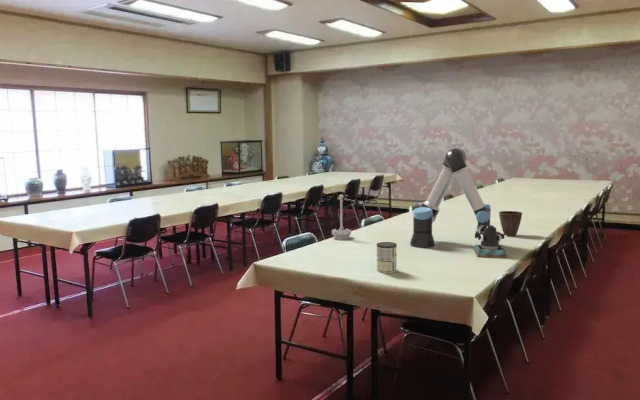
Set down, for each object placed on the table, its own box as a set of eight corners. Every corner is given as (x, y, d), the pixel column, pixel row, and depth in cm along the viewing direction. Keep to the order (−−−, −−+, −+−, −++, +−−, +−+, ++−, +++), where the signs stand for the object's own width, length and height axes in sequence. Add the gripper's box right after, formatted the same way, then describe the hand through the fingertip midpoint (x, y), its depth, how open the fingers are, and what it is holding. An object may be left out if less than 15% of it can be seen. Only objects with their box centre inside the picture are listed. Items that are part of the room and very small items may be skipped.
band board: (477, 256, 304) (477, 250, 303) (474, 250, 319) (474, 244, 319) (506, 257, 301) (507, 250, 301) (501, 251, 317) (502, 244, 316)
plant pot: (497, 236, 363) (497, 213, 361) (499, 232, 376) (500, 210, 374) (520, 238, 357) (521, 214, 355) (522, 234, 370) (523, 211, 368)
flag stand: (348, 240, 355) (347, 195, 351) (329, 239, 359) (329, 195, 356) (353, 236, 367) (353, 193, 364) (335, 235, 372) (334, 193, 368)
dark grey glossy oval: (487, 253, 304) (487, 227, 302) (477, 249, 314) (477, 224, 312) (502, 252, 306) (503, 226, 304) (492, 248, 316) (493, 223, 314)
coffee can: (375, 268, 280) (375, 242, 279) (394, 268, 281) (394, 241, 279) (378, 273, 270) (378, 246, 269) (398, 273, 271) (398, 245, 269)
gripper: (504, 238, 325) (511, 245, 303) (467, 237, 329) (471, 244, 307) (504, 226, 324) (511, 232, 302) (467, 225, 328) (471, 232, 306)
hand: (491, 238), depth 305 cm, fingers closed on dark grey glossy oval, 9 cm apart
